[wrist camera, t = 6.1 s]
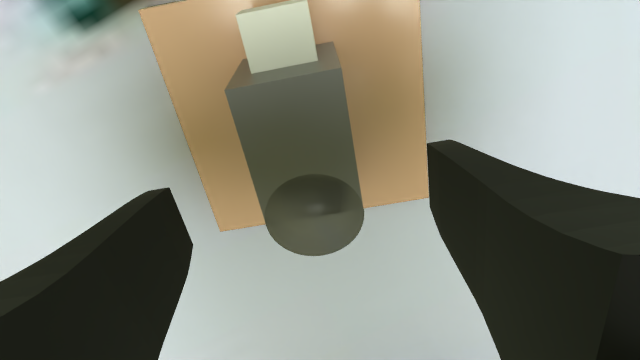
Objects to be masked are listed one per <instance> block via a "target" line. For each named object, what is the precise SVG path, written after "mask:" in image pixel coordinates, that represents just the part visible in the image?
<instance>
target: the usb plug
mask: <svg viewBox="0 0 640 360" xmlns="http://www.w3.org/2000/svg"><path fill="white" fill-rule="evenodd" d="M236 19H237V23H238V26H239V30H240V34H241V37H242V41H243V45H244V49H245V52H246V56H247V59H242V61H241V63H240V65H239V66H238V68H237V70H236V71H235V73H234V75H233V76H232V78H231V80H230V81H229V83H228V85H227V87H226V88H225V90H224V91H225V94H226V97H227V101H228V104H229V107H230V110H231V114H232V117H233V120H234V123H235V126H236V130H237V133H238V136H239V139H240V143H241V146H242V149H243V152H244V156H245V159H246V162H247V165H248V168H249V172H250V175H251V178H252V181H253V185H254V188H255V191H256V194H257V198H258V201H259V204H260V207H261V210H262V214H263V217H264V220H265V223H266V226H267V229H268V231H269V233H270V235H271V236H272V237H273V239H274V240H275V241H276V242H277V243H278V244H279V245H281V246H282V247H284V248H285V249H287V250H289V251H291V252H294V253H297V254H301V255H307V256H320V255H326V254H330V253H333V252H336V251H338V250H340V249H342V248H344V247H345V246H347V245H348V244H349V243H350V242H351V241H353V240H354V238H355V237H356V236H357V235H358V233H359V231H360V229H361V227H362V224H363V220H364V209H363V202H362V196H361V189H360V183H359V177H358V170H357V164H356V157H355V151H354V145H353V138H352V132H351V125H350V119H349V112H348V106H347V100H346V93H345V87H344V80H343V74H342V68H341V65H340V62H339V58H338V55H337V52H336V49H335V46H334V43H333V41H332V42H327V43H322V44H317V45H315V39H314V34H313V28H312V23H311V17H310V12H309V7H308V1H307V0H289V1H284V2H279V3H274V4H269V5H264V6H260V7H255V8H250V9H245V10H241V11H240V12H238V13H237V14H236Z"/></svg>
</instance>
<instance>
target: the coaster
mask: <svg viewBox="0 0 640 360" xmlns="http://www.w3.org/2000/svg"><path fill="white" fill-rule="evenodd" d="M284 1H289V0H182V1H177V2H172V3H166V4H161V5H156V6H151V7H146V8H143V9H140V10H138V11H139V13H140V16H141V19H142V21H143V24H144V27H145V29H146V32H147V35H148V38H149V40H150V43H151V46H152V48H153V51H154V54H155V56H156V59H157V62H158V65H159V67H160V70H161V73H162V75H163V78H164V81H165V84H166V86H167V89H168V92H169V94H170V97H171V100H172V102H173V105H174V108H175V111H176V113H177V116H178V119H179V121H180V124H181V127H182V129H183V132H184V135H185V138H186V140H187V143H188V146H189V148H190V151H191V154H192V156H193V159H194V162H195V165H196V167H197V170H198V173H199V175H200V178H201V181H202V183H203V186H204V189H205V192H206V194H207V197H208V200H209V202H210V205H211V208H212V210H213V213H214V216H215V219H216V221H217V224H218V227H219V229H220V232H221V231H227V230H234V229H240V228H246V227H252V226H258V225H264V224H266V223H265V220H264V217H263V214H262V210H261V207H260V204H259V201H258V198H257V194H256V191H255V188H254V185H253V181H252V178H251V175H250V172H249V168H248V165H247V162H246V159H245V156H244V152H243V149H242V146H241V143H240V139H239V136H238V133H237V130H236V126H235V123H234V120H233V117H232V114H231V110H230V107H229V104H228V101H227V97H226V94H225V91H224V90H225V88H226V87H227V85H228V83H229V81H230V80H231V78H232V76H233V75H234V73H235V71H236V70H237V68H238V66H239V65H240V63H241V61H242V59H247V56H246V52H245V49H244V45H243V41H242V37H241V34H240V30H239V26H238V23H237V19H236V14H237V13H238V12H240V11H241V10H245V9H250V8H255V7H260V6H264V5H269V4H274V3H279V2H284ZM307 1H308V7H309V12H310V17H311V23H312V28H313V34H314V39H315V45H317V44H322V43H327V42H332V41H333V43H334V46H335V49H336V52H337V55H338V58H339V62H340V65H341V68H342V74H343V80H344V87H345V93H346V100H347V106H348V112H349V119H350V125H351V132H352V138H353V145H354V151H355V157H356V164H357V170H358V177H359V183H360V189H361V196H362V202H363V208H368V207H374V206H380V205H387V204H393V203H399V202H405V201H411V200H417V199H423V198H429V194H428V173H427V151H426V129H425V107H424V86H423V64H422V42H421V20H420V0H307Z"/></svg>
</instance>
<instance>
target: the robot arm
mask: <svg viewBox="0 0 640 360" xmlns="http://www.w3.org/2000/svg"><path fill="white" fill-rule="evenodd" d="M427 156H428V177H429V199H430V208H431V211H432V214H433V217H434V220H435V222H436V225H437V228H438V230H439V233H440V235H441V237H442V239H443V241H444V243H445V245H446V247H447V249H448V251H449V252H450V254H451V256H452V258H453V260H454V262H455V263H456V265H457V267H458V269H459V271H460V272H461V274H462V276H463V278H464V280H465V282H466V283H467V285H468V287H469V289H470V291H471V293H472V294H473V296H474V298H475V300H476V302H477V304H478V306H479V308H480V310H481V312H482V314H483V316H484V319H485V321H486V324H487V326H488V329H489V331H490V333H491V336H492V338H493V341H494V343H495V345H496V348H497V350H498V353H499V355H500V358H501V360H640V198H635V197H630V196H624V195H619V194H614V193H608V192H603V191H599V190H594V189H590V188H585V187H581V186H578V185H574V184H570V183H566V182H563V181H559V180H555V179H552V178H549V177H545V176H542V175H539V174H536V173H534V172H531V171H528V170H525V169H522V168H519V167H517V166H514V165H511V164H509V163H506V162H504V161H501V160H499V159H497V158H494V157H492V156H489V155H487V154H485V153H482V152H480V151H478V150H475V149H473V148H471V147H469V146H466V145H464V144H461V143H459V142H456V141H453V140H445V141H439V142H433V143H427ZM192 249H193V243H192V241H191V239H190V236H189V234H188V231H187V229H186V226H185V224H184V222H183V219H182V217H181V214H180V212H179V210H178V207H177V205H176V202H175V200H174V198H173V195H172V193H171V190H170V188H163V189H157V190H151V191H147V192H145V193H143V194H141V195H139V196H138V197H136V198H134V199H133V200H131V201H129V202H128V203H126V204H125V205H123V206H122V207H120V208H119V209H117V210H116V211H114V212H113V213H111V214H110V215H109V216H107V217H106V218H104V219H103V220H101V221H100V222H98V223H97V224H95V225H94V226H92V227H91V228H90V229H88V230H87V231H85V232H84V233H82V234H80V235H79V236H77V237H76V238H74V239H73V240H71V241H70V242H68V243H66V244H65V245H63V246H62V247H60V248H59V249H57V250H56V251H54V252H52V253H51V254H49V255H48V256H46V257H44V258H43V259H41V260H39V261H37V262H36V263H34V264H32V265H31V266H29V267H27V268H25V269H23V270H21V271H20V272H18V273H16V274H14V275H12V276H10V277H9V278H7V279H5V280H3V281H1V282H0V360H158V358H159V355H160V351H161V348H162V345H163V342H164V340H165V337H166V334H167V331H168V329H169V326H170V323H171V320H172V318H173V315H174V312H175V309H176V307H177V304H178V301H179V298H180V295H181V293H182V290H183V287H184V284H185V281H186V278H187V275H188V270H189V266H190V261H191V255H192Z"/></svg>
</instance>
